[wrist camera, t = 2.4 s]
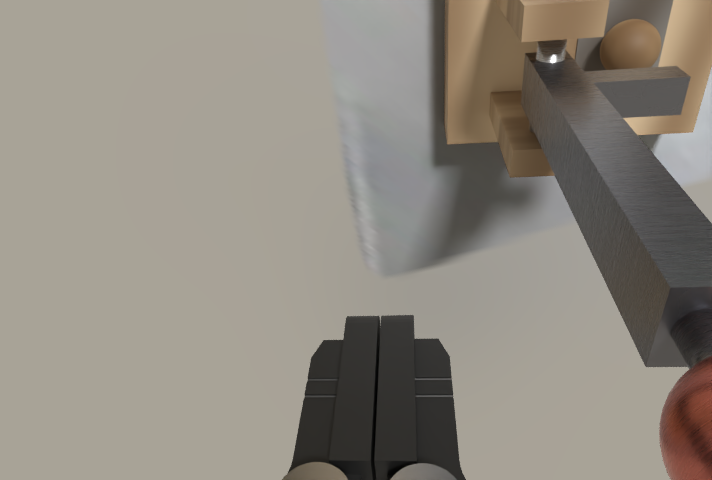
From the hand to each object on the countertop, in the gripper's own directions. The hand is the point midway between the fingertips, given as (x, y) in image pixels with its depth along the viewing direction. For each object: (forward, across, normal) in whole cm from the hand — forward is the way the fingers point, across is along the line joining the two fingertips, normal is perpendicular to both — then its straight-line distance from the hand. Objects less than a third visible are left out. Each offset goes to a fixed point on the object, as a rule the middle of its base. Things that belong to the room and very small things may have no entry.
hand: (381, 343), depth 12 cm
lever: (+17, -9, 0) cm, 19 cm away
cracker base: (+25, -10, 0) cm, 27 cm away
